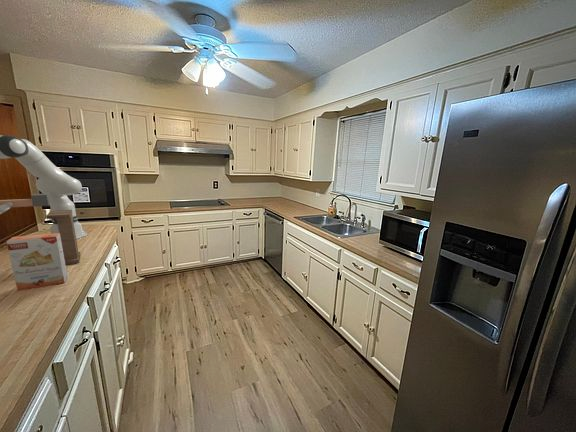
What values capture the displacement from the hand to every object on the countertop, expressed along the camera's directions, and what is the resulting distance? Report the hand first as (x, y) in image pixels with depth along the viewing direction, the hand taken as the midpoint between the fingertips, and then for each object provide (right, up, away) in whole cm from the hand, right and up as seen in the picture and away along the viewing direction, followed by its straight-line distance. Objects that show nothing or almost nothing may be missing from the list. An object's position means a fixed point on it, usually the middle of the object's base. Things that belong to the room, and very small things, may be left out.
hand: (13, 202), depth 107 cm
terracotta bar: (+3, -2, +3) cm, 5 cm away
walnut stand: (+10, -29, +15) cm, 34 cm away
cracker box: (+21, -35, -7) cm, 41 cm away
